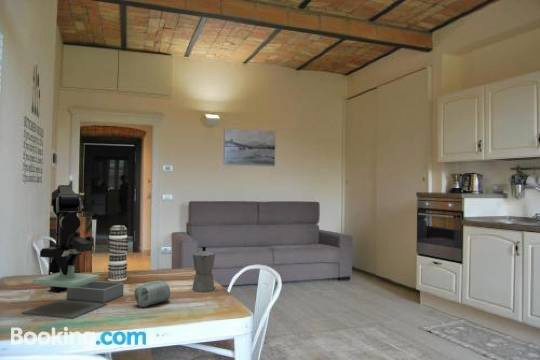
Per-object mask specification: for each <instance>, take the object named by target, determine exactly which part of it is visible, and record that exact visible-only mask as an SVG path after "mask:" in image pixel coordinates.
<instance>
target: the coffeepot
mask: <svg viewBox="0 0 540 360" xmlns="http://www.w3.org/2000/svg"><path fill="white" fill-rule="evenodd" d="M206 248H207V247H206V246H202V247H201V249H202V250H200V251H198V252H195V253H193V254H192V260H193V267H194V270H195V274H194V277H193V283H192V288H191V289H192V291H193V292H197V293H208V292H212V291H214V290H215V282H214V275H213V272H212V271H213V269H214V264H215V258H216V257H215V256H216V253H214V252H212V251H206Z"/></svg>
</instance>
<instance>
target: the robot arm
mask: <svg viewBox="0 0 540 360" xmlns="http://www.w3.org/2000/svg"><path fill="white" fill-rule="evenodd" d="M50 195H51V196H50V206H51V207H52V211H53V213H54V215H55V216H56V223H55V225H56V227H55V229H56V230H55V247H54V246H53V247H52V246H49V247H43V248H42V249H41V250H39V257H40V258H50V261H48V268H47V271H48V272H47V276H48V275H52V274H56V273H60V269H61V271H62V273H63V275H67V271H68V265H72V266H75V262H76V260H77V258H79V257H80V256H81V255H83V253H85V252H90V251H93V247H94V246H95V244H94V243H95V240H94V239H95V238H94V236H91V235H90V236H86V237H81V233H80V231H78V230H79V228H80V226H81V219H80V218H79V217H78V214H82V213H83V211H84V203H83V199H82V197H81V196H80V194H79V193H76V192H75V191H74V190H73V186H72V185H69V184H60V185H57V187H56V189H55V190H53V191H52V192H51V194H50ZM49 287H50V289H47V292H50V293H62V292H67V287H56V286H49Z"/></svg>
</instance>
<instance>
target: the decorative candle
mask: <svg viewBox="0 0 540 360" xmlns="http://www.w3.org/2000/svg"><path fill="white" fill-rule="evenodd" d="M127 233H128V228H127V227H126V226H125V225H123V224H121V225H120V224H115V225H111V227H110V228H109V236H108V237H107V240H108V241H107V245H108V246H107V248H108V249H107V252H108V253H107V255H108V256H109V257H108V265H107V270H108V271H107V282H121V281H123V282H124V281H127V279H128V270H127V269H128V267H127V266H128V263H127V261H128V259H127V255H128V252H127V251H129V248H128V247H129V245H127V244H128V243H129V241H128V240H130V238H129V237H128V234H127Z"/></svg>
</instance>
